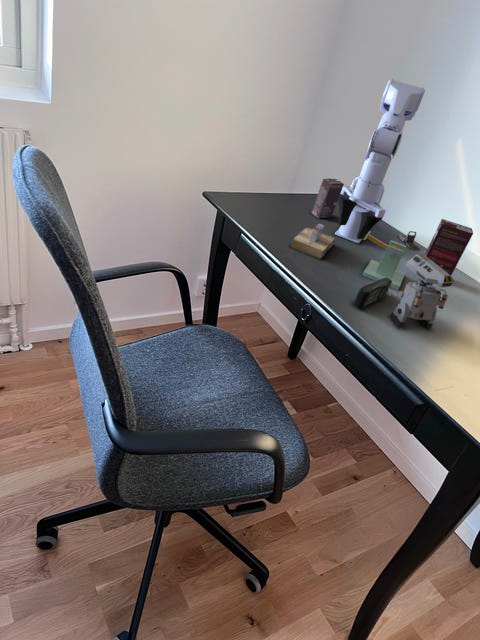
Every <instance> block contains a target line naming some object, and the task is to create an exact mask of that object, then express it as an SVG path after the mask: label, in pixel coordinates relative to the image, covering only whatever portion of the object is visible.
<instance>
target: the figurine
mask: <svg viewBox="0 0 480 640" xmlns="http://www.w3.org/2000/svg"><path fill="white" fill-rule="evenodd" d="M405 267H406V268H407V269H408V270H410V271H411V272H412V273H413V274H414V275H415V276H416V277H418V279H417V281H414V282H411V281H410V282H409V281H408V282H407V283H406V285H405V287H404V290H399V291H398V290H395V291H394V290H392V287H390V283H388V284H389V286H387V287H388V288H389V290H388V292H387V296H388V297H390V296H391V297H393V296H395V297H399V298H401V299H400V302H399V303H398V304H397V306H396V307H395V309H394V310H393V311H392V312H391V314H390V319H391V320H392V322H394V323H395V325H396V326H397V327H398V328H399V327H400V328H403V327H404V326H405V324H406V320H407V318H408V317H409V318H412V319H414V320H418V321H419V322H420V323H422V325H423V326H424V328H426V329H432V328H433V323H434V321H435V319H436V316H437V312H438V311H437V310H438V309H440V310H443V309H444V307H445V304H446V302H447V299H448V296H449V295H448V294H447V291H446V290H445V289H439V290H438V289H437V288H436V287H435V286H433V284H434V285H437V286H438V287H439V288H450V287H452V285H454V284H455V280H454V278H453V276H452V275H449V274H448V273H447V272H446V271H444V270H443V269H442V268H443V265H441V266H440V267H439V266H438V265H437V264H435V263H434V262H433V261H432V260H430V259H429V258H428V257H427V256H425V253H417V254H415V255H413V257H411V258H410V259H409V260H408V261H406V265H405ZM388 284H387V285H388ZM441 291H443V292H444V293H442V292H441ZM442 294H443V295H442ZM437 306H438V307H437ZM404 328H405V327H404Z"/></svg>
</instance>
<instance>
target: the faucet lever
mask: <svg viewBox="0 0 480 640" xmlns="http://www.w3.org/2000/svg"><path fill="white" fill-rule="evenodd" d="M362 240H363V241H366V240H369V241H371V243H374V244H376V245H377V246H379V247H381V248H382V249H384V250H386V248H387V246H388V245H389V244H387V243H385V242H384V241H382V240H380V239H378V238H377V237H375V236H373V235H371V230H370V231H369V232H368V234H367V235H366V236H365V238H364V239H362ZM392 246H393V247H396V248H398V249H400V248H399V247H397V246H395V245H392ZM401 250H402V249H401Z"/></svg>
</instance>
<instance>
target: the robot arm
mask: <svg viewBox="0 0 480 640" xmlns="http://www.w3.org/2000/svg"><path fill="white" fill-rule="evenodd" d="M425 92H426V90H425V87H420V86H416V85H413V84H409V83H405V82H402V81H399V80H395V79H393V78H390V79H389V80H388V81H387V84H386V86H385V88H384V91H383V94H382V97H381V100H380V104H379V112H380V113H382V116H381V118H380V120H379V123H378V125H377V128H374V130H373V132H372V134H371V137H370V139H369V143H368V146H367V151H366V155H365V157H364V159H365V160H364V162H363V165H362V167H361V170H360V173H359V176H357V177H355V178H354V179H353V180H352V183H351V184H350V186H347V185H344V186H343V188H342V191H341V193H340V195H342V196H339V198H338V201H337V202H338V208H339V215H338V225H339V226H340V227H339V228H338V229H337V230H336V231H335V232H334V235H336V236H337V237H341V238H343V239H346V240H348V241H351V242H353V243H355V244H360V243H361V242H362V240H363V239H364V238H365V236H366V235H367V234H368V232H369V231H370V232H371V230H372V229H373V227H375V226H376V225H377V224H378V223H379V222H380V221H382V220H383V218H384V216H385V213H386V210H387V209H385V208H384V207H382V206H381V205H380V204H381V201H382V199H383V196H384V192H385V186H384V184H383V182H384V179H385V177H386V175H387V172H388V169H389V166H390V164H391V162H392V160H393V159H394V158H395V156H396V154H397V153H398V149H399V147H400V144H401V141H402V139H403V130H404V127H405V125H406V122H407V121H408V122H409V121H412V119H413V118H414V117H415V115H416V113H417V112H418V110H419V107H420V105H421V102H422V100H423V97H424V95H425Z"/></svg>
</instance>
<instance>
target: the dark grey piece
mask: <svg viewBox="0 0 480 640" xmlns="http://www.w3.org/2000/svg"><path fill="white" fill-rule="evenodd" d="M388 283H390V286H391V283H392V280H390V279H389V278H383V279H379V280H376V281H375V280H373V281H372V282H370V283H367V284H365V285H364V286H362V287H361V288H359V290H358V292H357V294H356V296H355V298H354V301H353V304H354V306H355V307H356V308H358V309H363V308H365V307H366V306H368V305H371V304H372V303H374V302H377V301H380V300H381V299H383V298H384V297H385V296H386V295H387V294H388V291H389V288H388V287H387V286H389V284H388ZM387 284H388V285H387Z"/></svg>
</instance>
